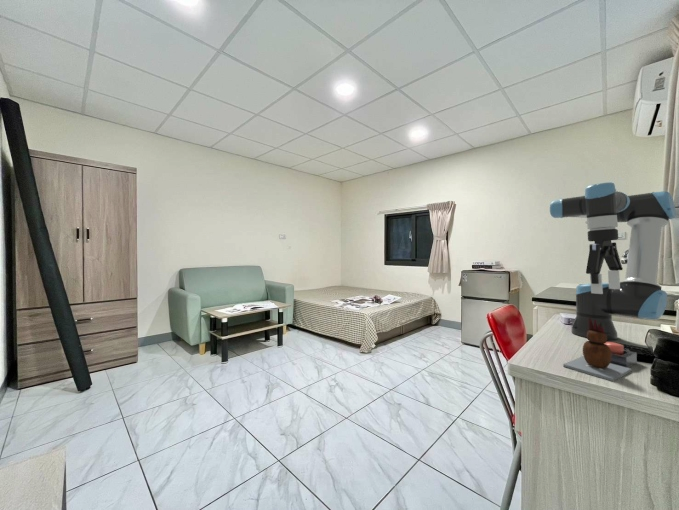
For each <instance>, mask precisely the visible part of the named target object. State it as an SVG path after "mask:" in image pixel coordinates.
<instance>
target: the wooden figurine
mask: <svg viewBox="0 0 679 510" xmlns="http://www.w3.org/2000/svg"><path fill="white" fill-rule="evenodd" d="M586 339H587V340H586V341H585V342H584V343H583V344H582V355H583V356H584V358H585V360H586V362H587V363H588V364H589V365H591V366H593V367H597V368H606V367H608V365H609V364H610V362H611V359H612V353H611V350H610V348H609V347H608V346H607V345H606V344H604V343H606V342H608V340H607V336H606V334H605V333H604V329H603V327H600V324H598V327H597V323H596V320H595V321H594V326H593V324H592V321H591V318H589V331H588V332H587V337H586Z"/></svg>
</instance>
